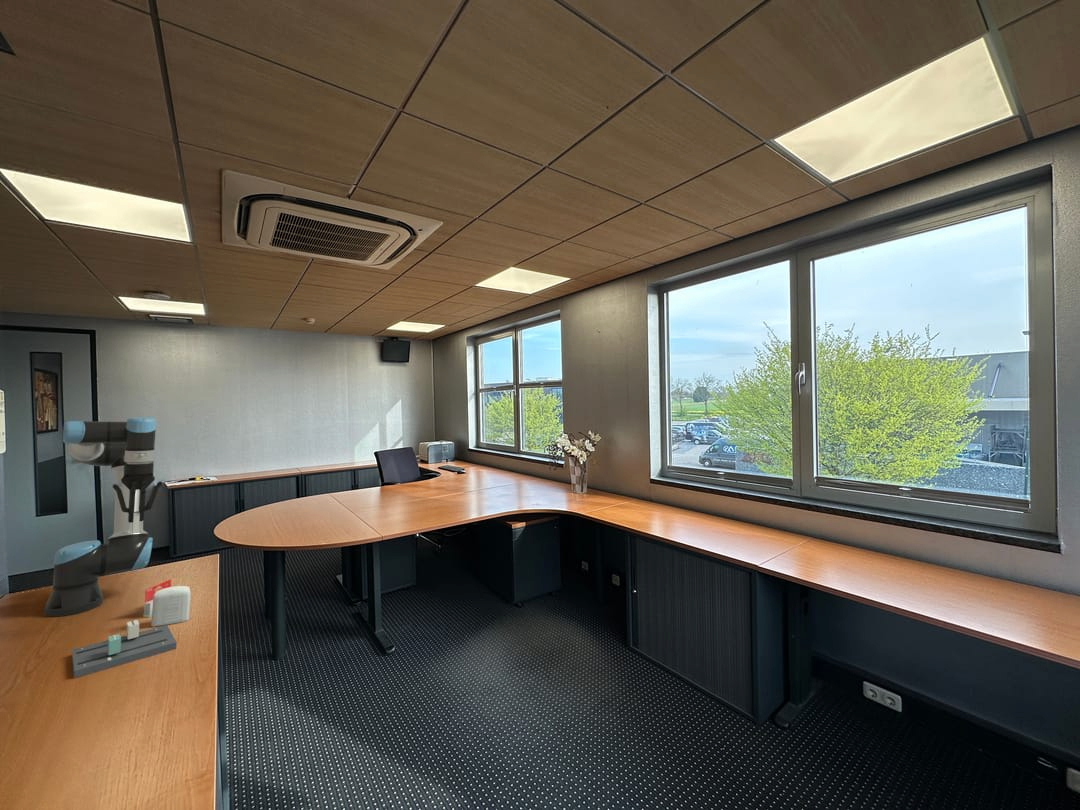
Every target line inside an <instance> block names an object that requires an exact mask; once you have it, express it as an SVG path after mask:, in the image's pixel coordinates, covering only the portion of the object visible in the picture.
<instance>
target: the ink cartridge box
mask: <svg viewBox="0 0 1080 810" xmlns="http://www.w3.org/2000/svg"><path fill="white" fill-rule="evenodd" d="M158 587H161V588H159V589H157V588H158ZM168 587H172V578H171V579H167V580H166V581H163V582H161V583H158V584H156V585H154V586H152V587H149V588H146V589H145V590H144V606H143V607H144V608H143V616H142V617H143V618H148V619H149V618H152V608H153V597H154V595H155V593H156V591H159V590H161V589H164V588H168ZM156 589H157V590H156Z"/></svg>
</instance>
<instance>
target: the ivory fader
mask: <svg viewBox="0 0 1080 810" xmlns="http://www.w3.org/2000/svg"><path fill="white" fill-rule="evenodd" d="M139 632H140V622H139V620H138V619H135V620H131V621H127V622H126V633H125V636H127V639H132V638H136V637H139Z"/></svg>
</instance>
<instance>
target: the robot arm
mask: <svg viewBox="0 0 1080 810" xmlns="http://www.w3.org/2000/svg"><path fill="white" fill-rule="evenodd" d="M156 420H157V419H155V418H154V417H143V416H141V417H139V416H138V417H137V416H135V417H129V418H127V421H91V420H89V421H87V420H85V421H84V420H76V421H75V420H74V421H73V420H72V421H66V422H65V423H63V433H62V442H63V444H68V451H67V452H68V454H69V456H70V457H71V458H72V459H73V460H74V461H75V462H78V463H80V464H81V463H82V464H84V465H88V466H95V467H111V468H110V470H111V472H113V473H114V474H115V483H113V484H112V485H111V487H112V489H114V491H115V494H114V495H115V497H114V517H113V518H114V521H113V523H114V524H113V534H112V535H111V536H109V537H108V539H107V542H105V543H102V542H101V541H100V540H98V539H97V540H96V539H95V540H94V539H93V540H85V541H79V542H76V543H73V544H69V545H66V546H64V547H62V548H59V549H58V550H57V551H56V552H55V554H54V555H55V556H54V559H53V560H54V561H53V566H54V567H53V578H52V590H51V591H52V592H51V593H50V595H49V598H48V599H47V601H46V603H45V605H44V606H43V607H44V609H43V615H44V616H46V617H64V616H65V617H66V616H71V615H76V614H79V613H84V612H88V611H90V610H93V609H96V608H97V607H100V606H101V605H102V604H103V603H104V594H103V591H102V589H101V587H100V585H99V576H104V575H105V576H106V575H110V574H112V575H113V574H119V573H123V572H129V571H134V570H140V569H143V568H145V567H147V566H148V564H149V562H150V558H151V554H152V547H153V537H150V536H149V533H148V532H147V531H146V530H144V520H145V518H144V517H145V512H146V511H149V510H151V509H152V507H153V504H154V502H155V499H156V496H157V495H158V494H157V493H158V492H159V491H158V490H159V488H161V487H162V485H163V482H162V481H161V480H158V479H156V478H155V476H154V469H155V467H154V463H155V444H156V443H155V442H156V431H157V421H156ZM151 484H152V489H151V492H150V494H149V496H148V499H147V502H146V491H147V488H149V487H150V485H151ZM145 503H146V505H145Z"/></svg>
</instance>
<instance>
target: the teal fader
mask: <svg viewBox="0 0 1080 810" xmlns="http://www.w3.org/2000/svg"><path fill="white" fill-rule="evenodd" d="M121 637H122V636H121V634H120V633H117V634H113V635H109V636H108V637H107V640H108V646H107V651H108V655H112V654H116V653H119V652H120V650H121Z"/></svg>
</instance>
